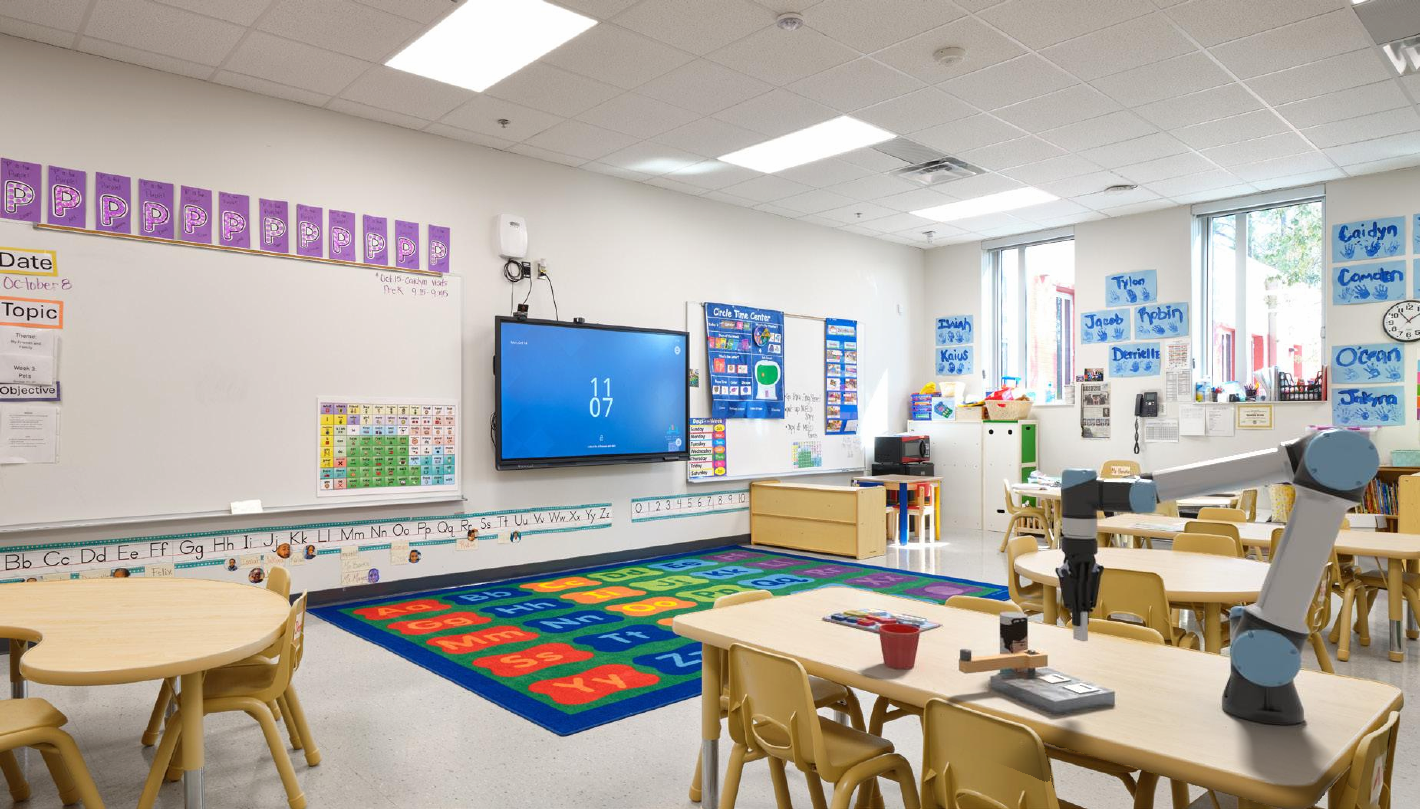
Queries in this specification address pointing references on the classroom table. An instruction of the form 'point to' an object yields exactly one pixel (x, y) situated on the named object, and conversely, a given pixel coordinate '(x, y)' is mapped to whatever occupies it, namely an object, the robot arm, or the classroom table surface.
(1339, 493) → the robot arm
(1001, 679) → the board
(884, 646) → the flower pot
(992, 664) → the bar
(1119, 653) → the classroom table surface
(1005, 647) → the printed cylinder
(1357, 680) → the classroom table surface
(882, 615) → the puzzle board
